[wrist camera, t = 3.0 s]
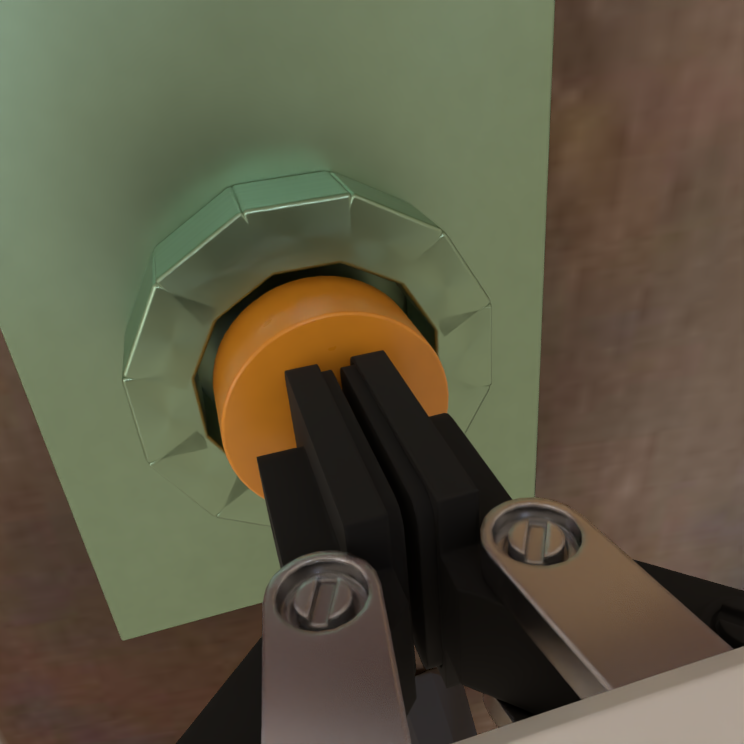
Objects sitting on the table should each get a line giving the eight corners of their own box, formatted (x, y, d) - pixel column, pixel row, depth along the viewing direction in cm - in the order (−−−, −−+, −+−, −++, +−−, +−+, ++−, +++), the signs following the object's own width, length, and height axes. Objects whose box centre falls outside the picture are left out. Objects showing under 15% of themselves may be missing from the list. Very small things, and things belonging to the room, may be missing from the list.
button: (191, 297, 12) (198, 340, 11) (411, 256, 13) (446, 291, 11) (233, 480, 14) (244, 538, 13) (422, 435, 15) (452, 484, 13)
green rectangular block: (-75, -12, 13) (-184, -15, 9) (484, -63, 15) (618, -85, 11) (124, 553, 20) (119, 706, 15) (486, 462, 22) (568, 574, 18)
